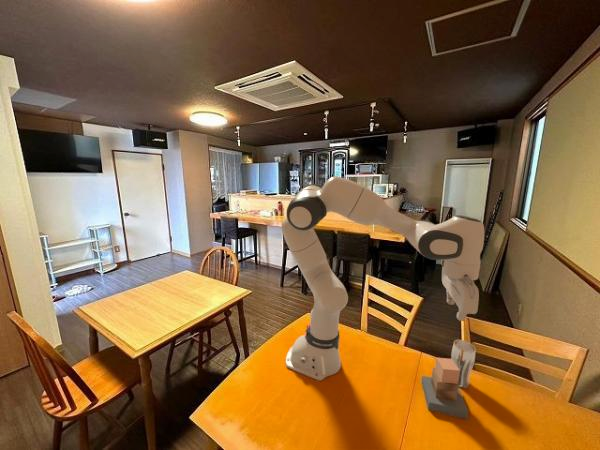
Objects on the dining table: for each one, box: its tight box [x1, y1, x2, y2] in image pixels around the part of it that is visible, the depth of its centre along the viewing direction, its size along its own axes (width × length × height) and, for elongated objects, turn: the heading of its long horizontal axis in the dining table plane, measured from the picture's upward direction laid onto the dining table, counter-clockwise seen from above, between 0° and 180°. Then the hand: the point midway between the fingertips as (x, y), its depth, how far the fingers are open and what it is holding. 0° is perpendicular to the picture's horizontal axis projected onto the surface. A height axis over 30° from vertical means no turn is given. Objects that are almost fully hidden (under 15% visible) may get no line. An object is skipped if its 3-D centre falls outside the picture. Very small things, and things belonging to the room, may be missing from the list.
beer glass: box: [450, 339, 477, 389], centre depth 87 cm, size 7×7×15 cm
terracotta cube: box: [434, 357, 460, 384], centre depth 79 cm, size 5×5×5 cm
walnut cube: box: [431, 367, 460, 402], centre depth 80 cm, size 6×6×6 cm
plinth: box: [421, 375, 469, 420], centre depth 81 cm, size 11×11×3 cm
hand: (455, 311), depth 75 cm, fingers open, 8 cm apart
